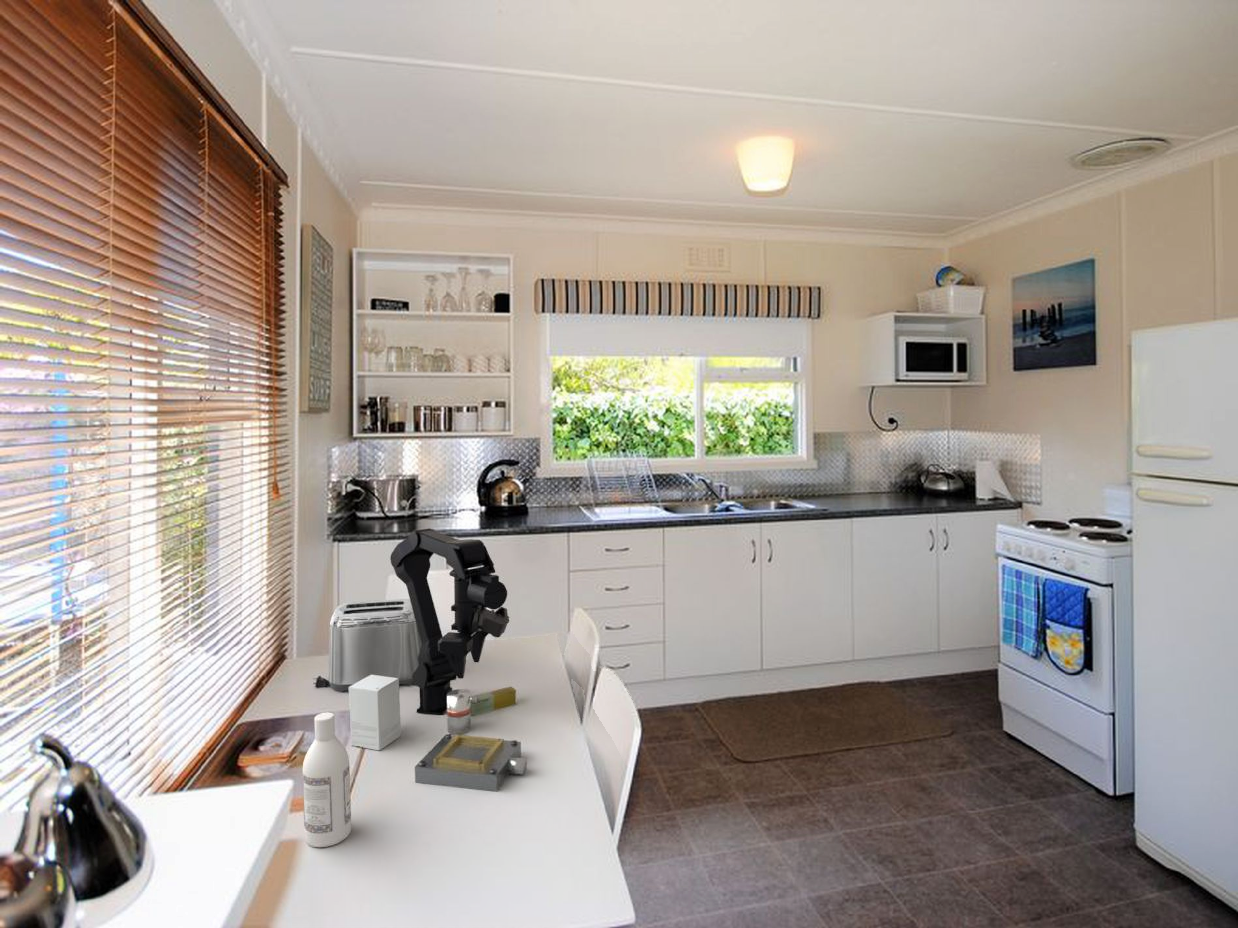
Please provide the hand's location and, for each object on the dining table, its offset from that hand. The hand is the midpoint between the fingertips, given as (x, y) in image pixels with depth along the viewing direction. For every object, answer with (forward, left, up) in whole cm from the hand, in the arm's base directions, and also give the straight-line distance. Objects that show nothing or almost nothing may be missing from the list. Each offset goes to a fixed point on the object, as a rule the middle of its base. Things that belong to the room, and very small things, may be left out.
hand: (468, 669), depth 148 cm
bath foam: (-7, -40, -13) cm, 43 cm away
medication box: (+1, +10, -13) cm, 17 cm away
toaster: (-35, +21, -13) cm, 43 cm away
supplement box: (-17, -9, -13) cm, 23 cm away
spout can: (-2, -1, -13) cm, 13 cm away
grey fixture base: (+9, -16, -13) cm, 22 cm away
